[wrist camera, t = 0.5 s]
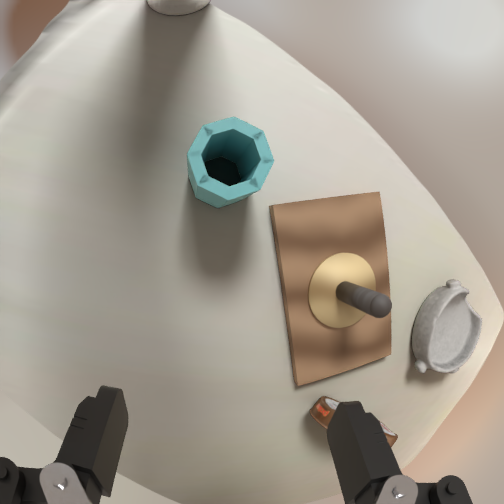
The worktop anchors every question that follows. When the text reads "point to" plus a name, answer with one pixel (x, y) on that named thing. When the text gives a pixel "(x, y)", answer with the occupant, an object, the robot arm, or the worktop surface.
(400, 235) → the worktop surface
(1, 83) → the worktop surface
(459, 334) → the dish
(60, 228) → the worktop surface
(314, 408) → the tin
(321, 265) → the post stand
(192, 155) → the collar
